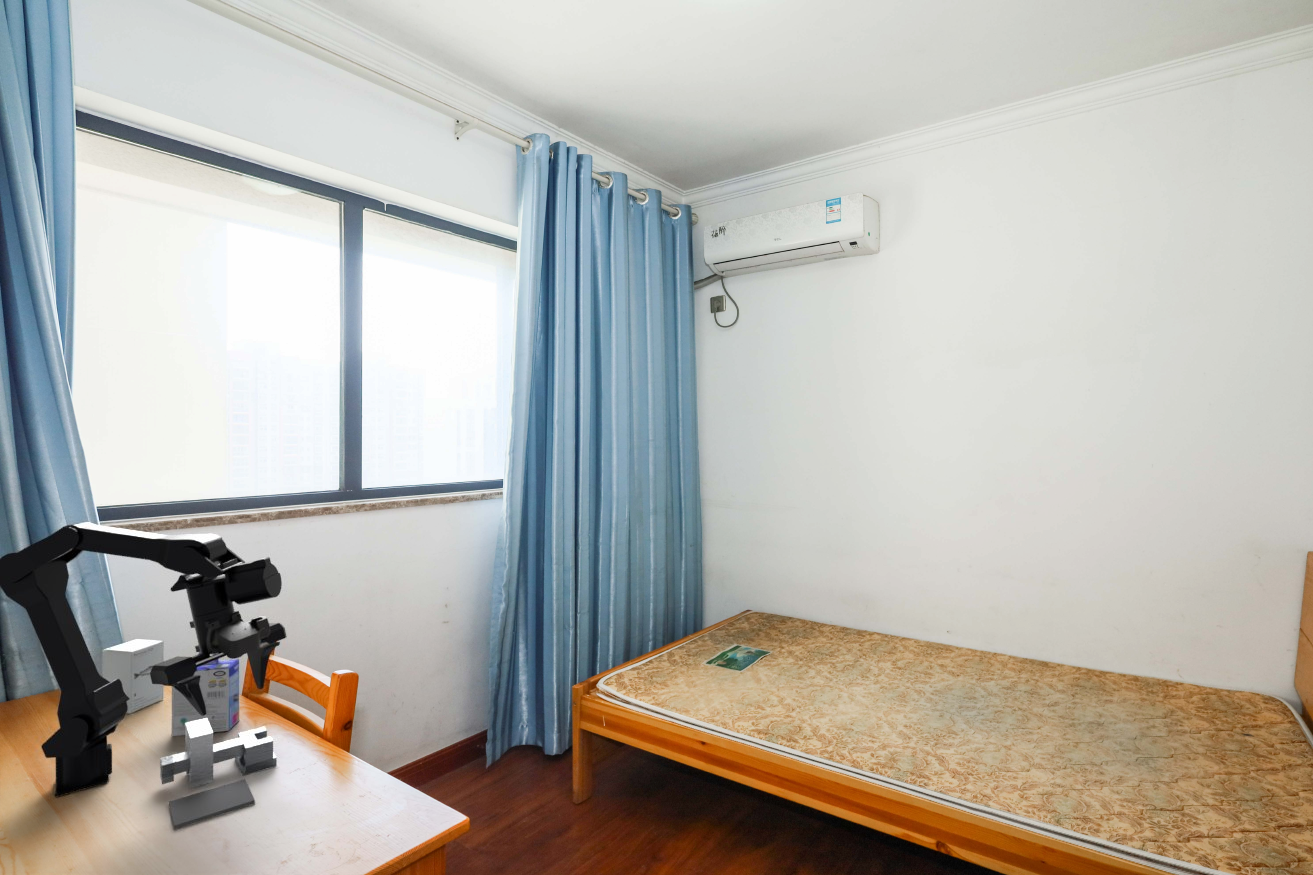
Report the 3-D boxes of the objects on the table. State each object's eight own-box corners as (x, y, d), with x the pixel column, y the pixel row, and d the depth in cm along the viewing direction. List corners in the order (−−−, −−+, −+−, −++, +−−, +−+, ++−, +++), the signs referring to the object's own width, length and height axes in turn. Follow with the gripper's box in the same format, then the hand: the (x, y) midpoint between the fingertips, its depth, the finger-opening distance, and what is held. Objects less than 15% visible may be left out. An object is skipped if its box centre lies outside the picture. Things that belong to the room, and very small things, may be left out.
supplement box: (130, 714, 132) (130, 651, 131) (100, 711, 133) (100, 649, 133) (165, 699, 139) (164, 640, 139) (136, 696, 140) (136, 637, 140)
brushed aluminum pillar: (190, 787, 104) (190, 737, 104) (185, 770, 110) (185, 722, 109) (213, 781, 106) (213, 732, 106) (207, 764, 111) (207, 717, 111)
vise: (163, 799, 102) (163, 770, 102) (159, 780, 107) (159, 753, 107) (276, 765, 112) (276, 739, 112) (267, 750, 117) (267, 725, 117)
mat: (174, 829, 94) (174, 825, 94) (168, 805, 100) (168, 801, 100) (254, 803, 101) (254, 799, 101) (245, 782, 107) (245, 778, 107)
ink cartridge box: (241, 719, 130) (240, 646, 130) (230, 731, 125) (230, 655, 124) (183, 724, 127) (183, 650, 127) (170, 737, 122) (169, 660, 122)
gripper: (175, 632, 97) (198, 734, 97) (295, 590, 113) (314, 677, 114) (138, 632, 102) (160, 729, 103) (258, 592, 118) (276, 675, 119)
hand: (233, 701), depth 109 cm, fingers open, 9 cm apart
